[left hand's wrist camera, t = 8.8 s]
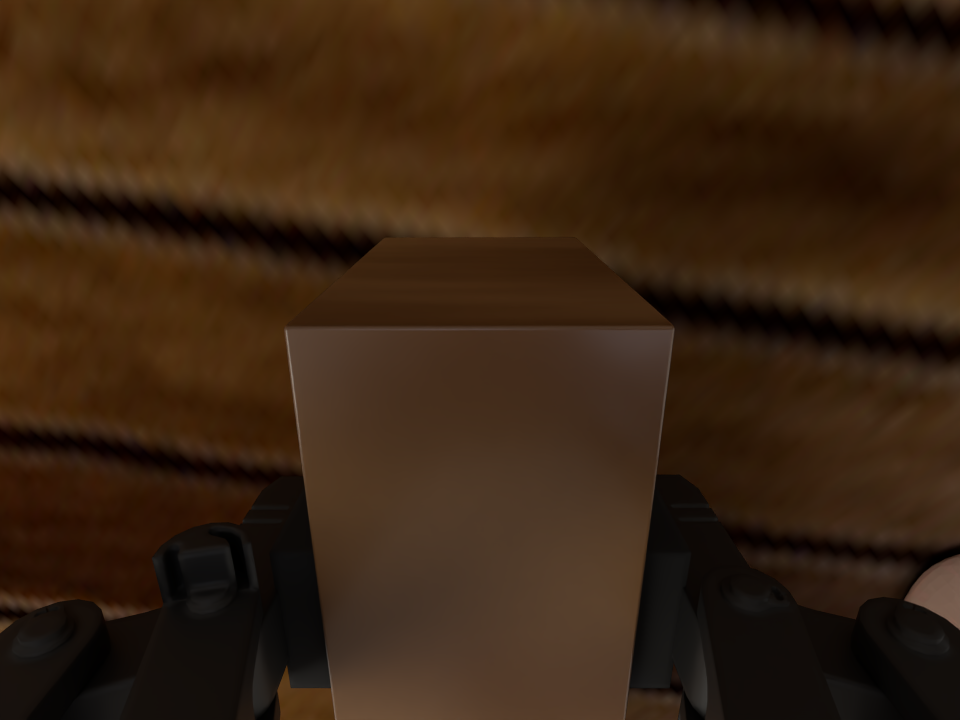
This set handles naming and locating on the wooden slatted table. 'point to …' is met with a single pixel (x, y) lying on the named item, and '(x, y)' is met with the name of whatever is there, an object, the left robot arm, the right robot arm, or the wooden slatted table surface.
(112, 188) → the wooden slatted table surface
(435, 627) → the beam
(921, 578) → the beige rounded piece
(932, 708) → the left robot arm
